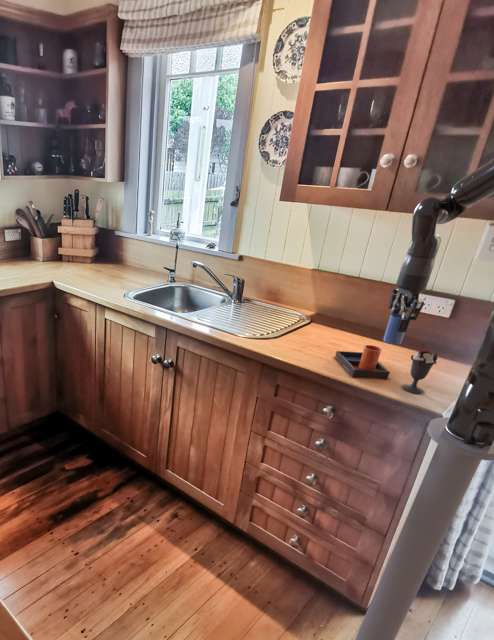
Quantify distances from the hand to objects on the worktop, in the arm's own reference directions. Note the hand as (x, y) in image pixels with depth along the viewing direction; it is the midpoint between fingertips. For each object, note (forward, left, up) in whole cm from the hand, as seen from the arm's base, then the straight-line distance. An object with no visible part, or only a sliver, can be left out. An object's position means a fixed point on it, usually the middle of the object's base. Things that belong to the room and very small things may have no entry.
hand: (396, 328), depth 138 cm
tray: (+8, +3, -17) cm, 19 cm away
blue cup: (0, 0, -4) cm, 4 cm away
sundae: (-6, -7, -18) cm, 20 cm away
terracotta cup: (+5, +2, -17) cm, 17 cm away
